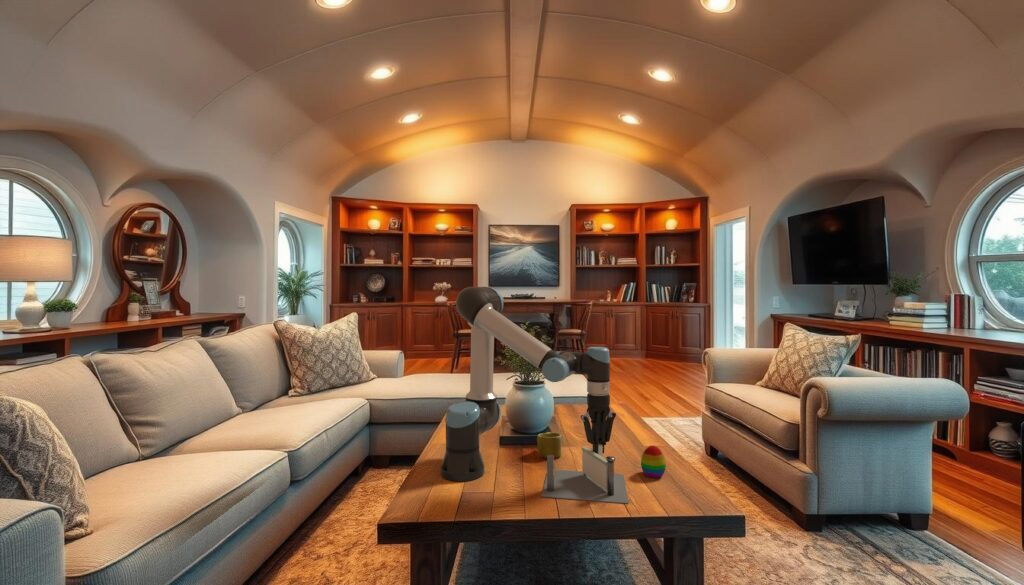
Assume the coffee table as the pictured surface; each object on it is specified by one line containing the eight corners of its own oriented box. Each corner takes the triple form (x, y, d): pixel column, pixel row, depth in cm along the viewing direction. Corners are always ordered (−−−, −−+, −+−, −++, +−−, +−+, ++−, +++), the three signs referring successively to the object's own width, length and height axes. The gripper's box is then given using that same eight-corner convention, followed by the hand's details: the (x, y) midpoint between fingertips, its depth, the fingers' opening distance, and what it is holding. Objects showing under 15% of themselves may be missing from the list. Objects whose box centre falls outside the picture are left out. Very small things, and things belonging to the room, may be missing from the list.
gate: (609, 491, 145) (610, 461, 145) (605, 492, 145) (605, 462, 145) (585, 473, 159) (585, 446, 159) (581, 474, 159) (581, 447, 159)
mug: (564, 457, 171) (557, 429, 174) (538, 463, 173) (531, 436, 176) (569, 452, 183) (562, 427, 185) (544, 458, 185) (537, 433, 187)
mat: (541, 497, 142) (541, 496, 142) (548, 469, 164) (548, 469, 164) (628, 503, 138) (628, 502, 138) (623, 475, 159) (623, 474, 159)
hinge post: (606, 496, 142) (606, 459, 142) (605, 493, 145) (605, 456, 145) (615, 497, 142) (615, 459, 142) (615, 493, 145) (615, 456, 145)
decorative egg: (668, 473, 161) (668, 444, 161) (662, 481, 154) (662, 451, 154) (644, 468, 165) (644, 440, 165) (638, 476, 158) (638, 447, 158)
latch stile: (546, 492, 146) (547, 457, 145) (547, 488, 148) (547, 454, 148) (555, 493, 145) (555, 457, 145) (555, 489, 148) (556, 454, 148)
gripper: (587, 397, 150) (588, 470, 150) (621, 394, 155) (621, 464, 155) (575, 392, 157) (576, 462, 157) (608, 389, 162) (608, 457, 162)
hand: (598, 463), depth 156 cm, fingers closed
